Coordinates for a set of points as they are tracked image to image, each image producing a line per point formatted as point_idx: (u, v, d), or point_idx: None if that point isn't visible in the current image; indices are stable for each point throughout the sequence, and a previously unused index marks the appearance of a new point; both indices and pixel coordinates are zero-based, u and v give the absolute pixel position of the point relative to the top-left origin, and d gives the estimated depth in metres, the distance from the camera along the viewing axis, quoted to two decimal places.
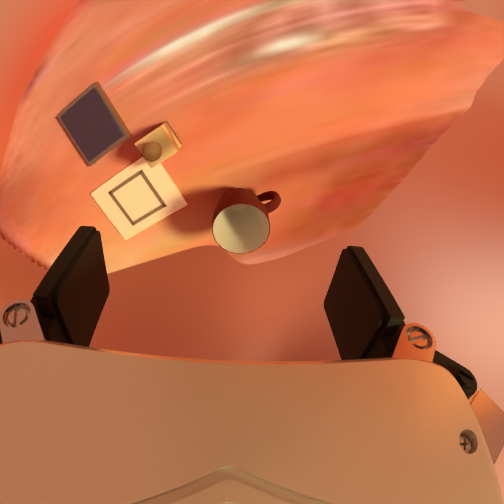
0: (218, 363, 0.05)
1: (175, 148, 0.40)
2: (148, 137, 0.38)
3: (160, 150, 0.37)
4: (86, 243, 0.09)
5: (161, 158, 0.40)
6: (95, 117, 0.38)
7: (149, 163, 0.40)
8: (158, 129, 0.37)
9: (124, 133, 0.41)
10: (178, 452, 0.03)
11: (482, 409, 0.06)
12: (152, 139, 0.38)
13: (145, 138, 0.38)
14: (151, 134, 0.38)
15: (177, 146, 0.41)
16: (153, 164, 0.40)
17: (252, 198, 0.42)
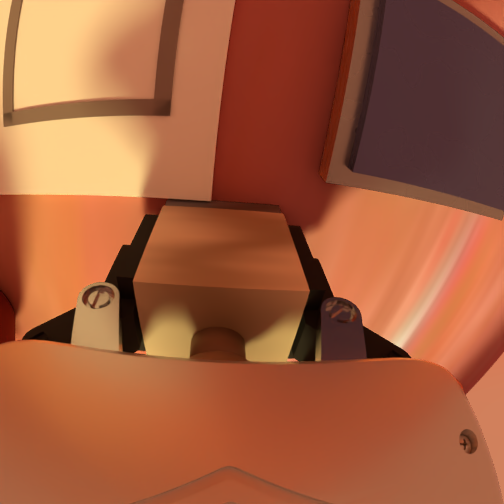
0: (218, 363, 0.05)
1: None
2: (278, 345, 0.09)
3: None
4: None
5: (157, 337, 0.08)
6: (472, 149, 0.09)
7: (163, 290, 0.07)
8: None
9: (352, 173, 0.10)
10: (178, 452, 0.03)
11: None
12: (258, 352, 0.09)
13: (285, 336, 0.09)
14: (279, 357, 0.09)
15: None
16: (148, 301, 0.08)
17: None
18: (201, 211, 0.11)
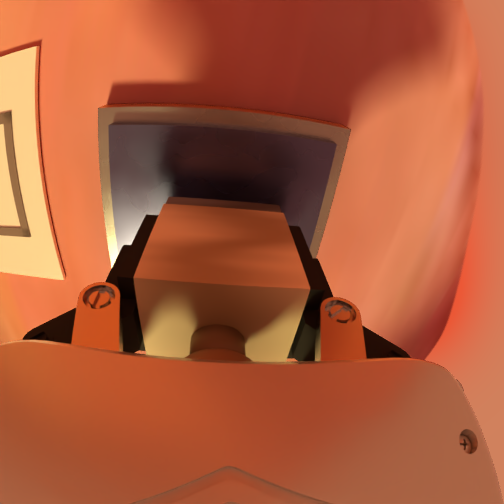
0: (218, 363, 0.05)
1: None
2: (278, 344, 0.09)
3: None
4: None
5: (157, 335, 0.08)
6: None
7: (164, 286, 0.07)
8: None
9: None
10: (178, 452, 0.03)
11: None
12: (258, 350, 0.09)
13: (285, 334, 0.09)
14: (278, 356, 0.09)
15: None
16: (148, 298, 0.07)
17: None
18: (201, 209, 0.11)
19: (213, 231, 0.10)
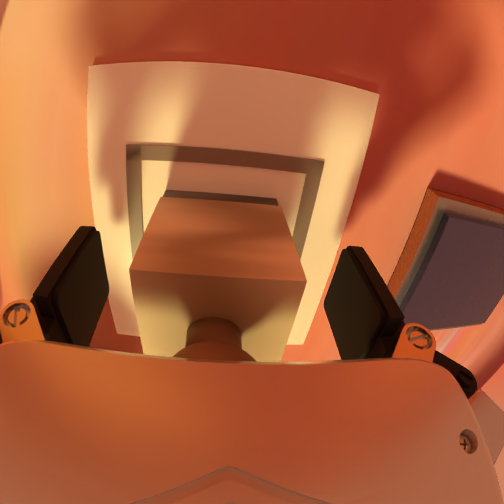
0: (218, 363, 0.05)
1: None
2: (275, 337, 0.09)
3: None
4: (86, 243, 0.09)
5: (152, 328, 0.08)
6: (467, 302, 0.15)
7: (159, 278, 0.07)
8: None
9: None
10: (178, 452, 0.03)
11: (482, 409, 0.06)
12: (255, 344, 0.09)
13: (282, 328, 0.09)
14: (275, 350, 0.09)
15: None
16: (143, 290, 0.07)
17: None
18: (198, 202, 0.11)
19: (210, 224, 0.09)
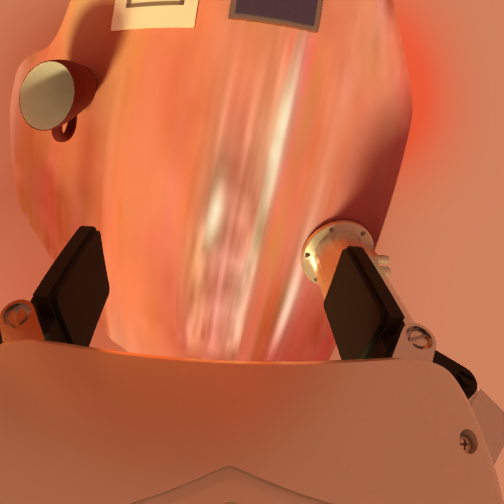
0: (218, 363, 0.05)
1: None
2: None
3: None
4: (86, 243, 0.09)
5: None
6: (282, 3, 0.26)
7: None
8: None
9: (236, 14, 0.27)
10: (178, 452, 0.03)
11: (482, 409, 0.06)
12: None
13: None
14: None
15: None
16: None
17: (72, 117, 0.27)
18: None
19: None
